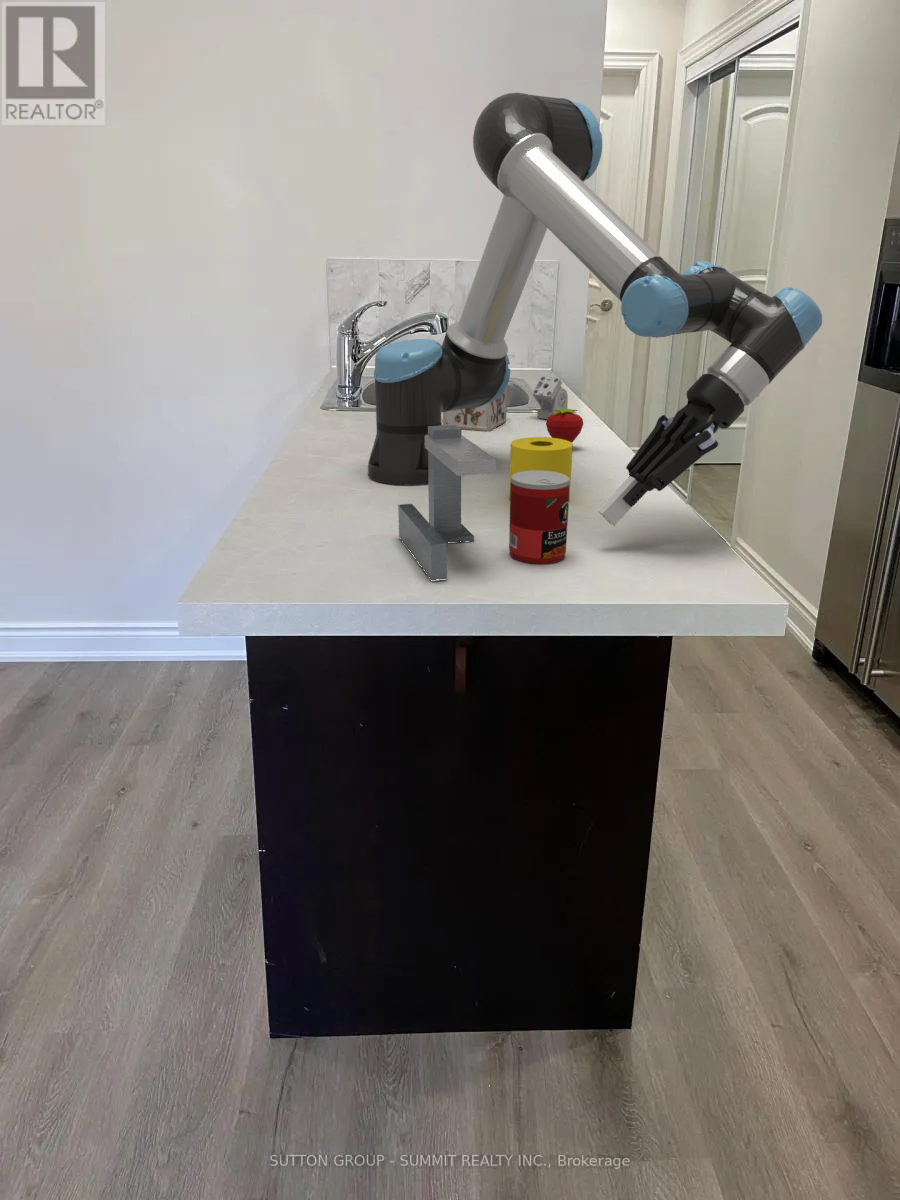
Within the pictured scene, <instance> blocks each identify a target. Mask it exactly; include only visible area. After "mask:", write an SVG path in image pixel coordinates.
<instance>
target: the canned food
mask: <svg viewBox="0 0 900 1200" xmlns="http://www.w3.org/2000/svg"><path fill="white" fill-rule="evenodd" d="M569 485H570V486H571V484H570V482H569V477H568V476H566V475H564V474H561V473H557V472H552V471H540V470H533V471H523V472H518V473H515V474H513V475H512V477H511V488H510V500H509V534H508V535H509V538H508V539H509V542H508V544H509V545H508V549H509V554H510V555H511V557H512V558H514V559H515V560H517V561H519V562H522V563H526V564H532V563H533V565H536V564H537V565H547V564H549V565H550V564H554V563H557V562H559V561H561V560H564V558H565V556H566V552H567V541H568V523H569V522H568V521H569V507H570V506H569V505H570V502H569Z"/></svg>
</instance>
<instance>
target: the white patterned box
mask: <svg viewBox="0 0 900 1200" xmlns="http://www.w3.org/2000/svg"><path fill="white" fill-rule="evenodd" d="M507 405H508V386H507V387H506V389H505V391H504V392H503V393H502V395H501V396H500V397H499V398H498V399H496V400H495V401H493V402H491V403H488V404H485V405H483V406H480V407H476V408H465V409H459V410H453V411H447V412H442V425H457V426H458V427H459V428H461V429H462V430H463V429H465V430H464V431H477V432H487V431H489V432H491V431H492V429H493V430H494V429H496V428H498V427H500V426H501V425H504V424H505V423H507V409H508V408H507ZM503 423H504V424H503ZM499 425H500V426H499ZM497 426H498V427H497ZM495 427H496V428H495Z"/></svg>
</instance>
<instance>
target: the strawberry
mask: <svg viewBox="0 0 900 1200" xmlns="http://www.w3.org/2000/svg"><path fill="white" fill-rule="evenodd" d="M564 402H565V401H564ZM563 404H564V403H563ZM552 411H557V413H555V414H551V415H550V416H549V417H548V418H547V419H546V421H545V426H546V429H547V432H548V434H549V436H550V438H558V439H563V440H567V441H569V442H571V443H572V444H573V442H574V441H575V440H576V439H577V437H578V436H580V434H581V431H582V429H583V426H584V420H583V418H582V416H581V415H579V414H577V411H579V410H578V409H572V408H567V409H565V408H563V405H562V409H555V410H552Z"/></svg>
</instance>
